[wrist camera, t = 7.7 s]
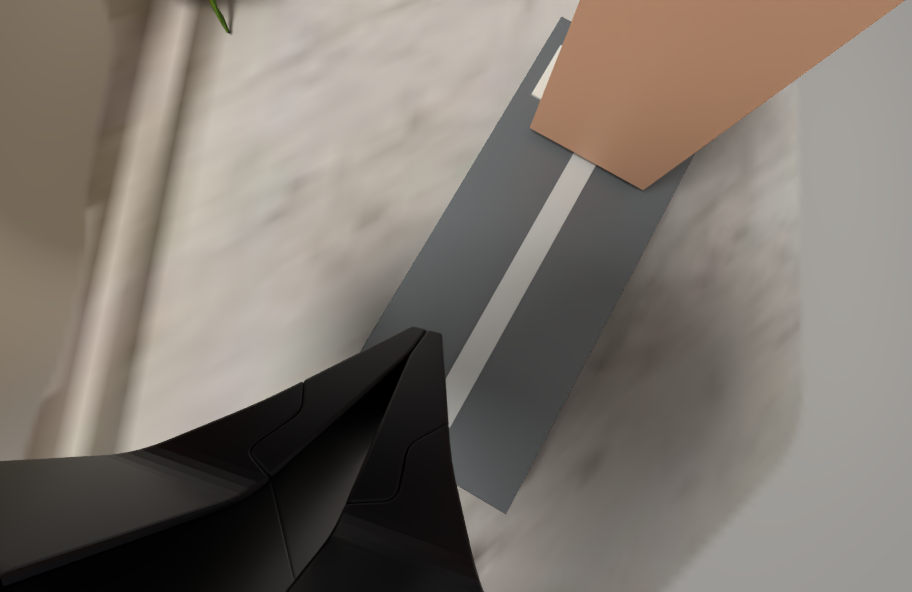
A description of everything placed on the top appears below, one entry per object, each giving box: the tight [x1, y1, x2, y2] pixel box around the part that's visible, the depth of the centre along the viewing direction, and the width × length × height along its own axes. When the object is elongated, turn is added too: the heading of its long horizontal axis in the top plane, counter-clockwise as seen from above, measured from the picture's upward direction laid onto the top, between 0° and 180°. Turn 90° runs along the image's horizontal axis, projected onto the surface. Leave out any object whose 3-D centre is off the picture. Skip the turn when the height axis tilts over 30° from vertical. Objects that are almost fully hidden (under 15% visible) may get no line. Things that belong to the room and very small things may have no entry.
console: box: [361, 17, 695, 514], centre depth 17 cm, size 22×9×2 cm, turn 150°
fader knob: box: [530, 0, 905, 190], centre depth 11 cm, size 4×6×10 cm, turn 60°
